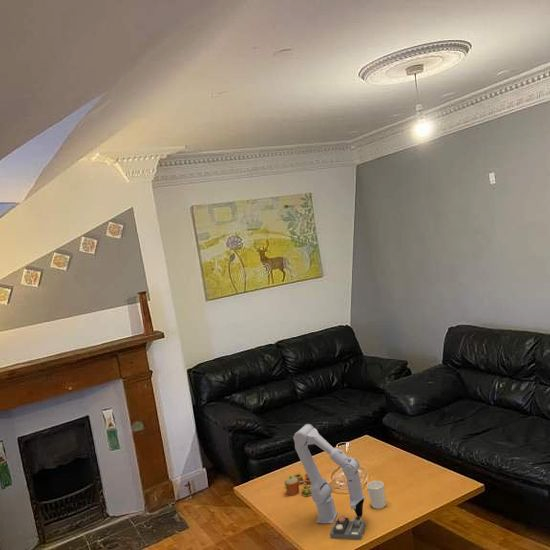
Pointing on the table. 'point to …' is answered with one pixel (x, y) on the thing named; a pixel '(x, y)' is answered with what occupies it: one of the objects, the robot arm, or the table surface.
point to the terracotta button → (342, 519)
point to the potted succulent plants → (294, 482)
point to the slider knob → (357, 521)
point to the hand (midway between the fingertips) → (359, 515)
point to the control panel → (348, 530)
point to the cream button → (339, 527)
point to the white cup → (376, 494)
